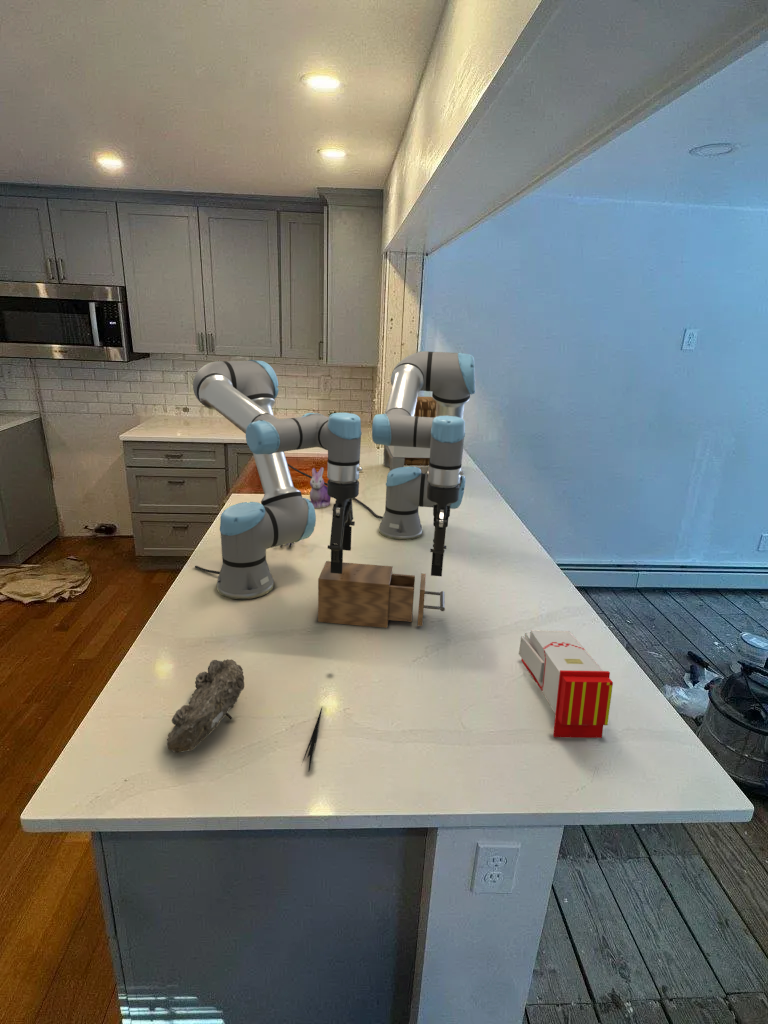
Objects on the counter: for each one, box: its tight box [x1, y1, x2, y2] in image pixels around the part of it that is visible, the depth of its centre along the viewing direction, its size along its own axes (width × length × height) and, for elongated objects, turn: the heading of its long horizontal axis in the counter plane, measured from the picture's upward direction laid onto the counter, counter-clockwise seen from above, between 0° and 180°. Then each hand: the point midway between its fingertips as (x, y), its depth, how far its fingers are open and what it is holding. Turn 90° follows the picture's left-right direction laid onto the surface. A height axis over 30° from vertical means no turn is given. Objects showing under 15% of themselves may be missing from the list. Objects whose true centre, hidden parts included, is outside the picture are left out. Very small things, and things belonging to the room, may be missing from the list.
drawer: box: [388, 573, 446, 627], centre depth 143 cm, size 21×9×10 cm, turn 85°
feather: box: [301, 673, 332, 771], centre depth 108 cm, size 2×28×2 cm
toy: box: [518, 629, 614, 739], centre depth 118 cm, size 12×13×30 cm
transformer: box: [383, 395, 466, 472], centre depth 268 cm, size 34×33×41 cm
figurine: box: [309, 466, 332, 509], centre depth 223 cm, size 9×10×15 cm
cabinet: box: [317, 560, 394, 629], centre depth 144 cm, size 17×10×12 cm, turn 85°
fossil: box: [166, 658, 245, 754], centre depth 106 cm, size 22×10×15 cm
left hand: (341, 560), depth 142 cm, fingers open, 13 cm apart
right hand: (436, 574), depth 140 cm, fingers closed
